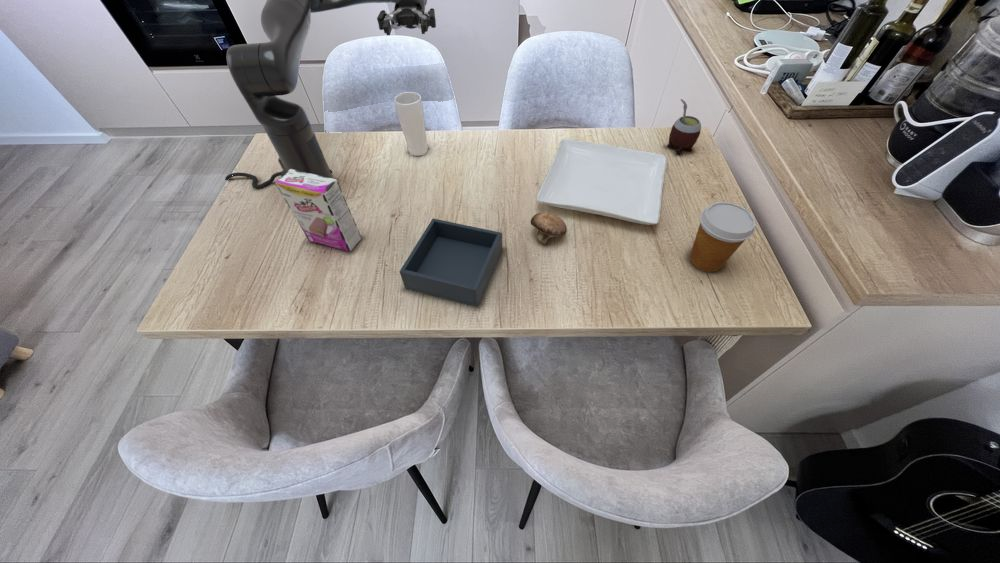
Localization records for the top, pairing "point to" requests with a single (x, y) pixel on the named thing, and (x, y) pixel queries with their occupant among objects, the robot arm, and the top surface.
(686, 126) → the mate gourd
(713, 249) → the disposable coffee cup
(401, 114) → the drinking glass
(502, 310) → the top surface
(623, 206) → the square plate
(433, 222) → the tub
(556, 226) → the mushroom
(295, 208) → the candy bar box
